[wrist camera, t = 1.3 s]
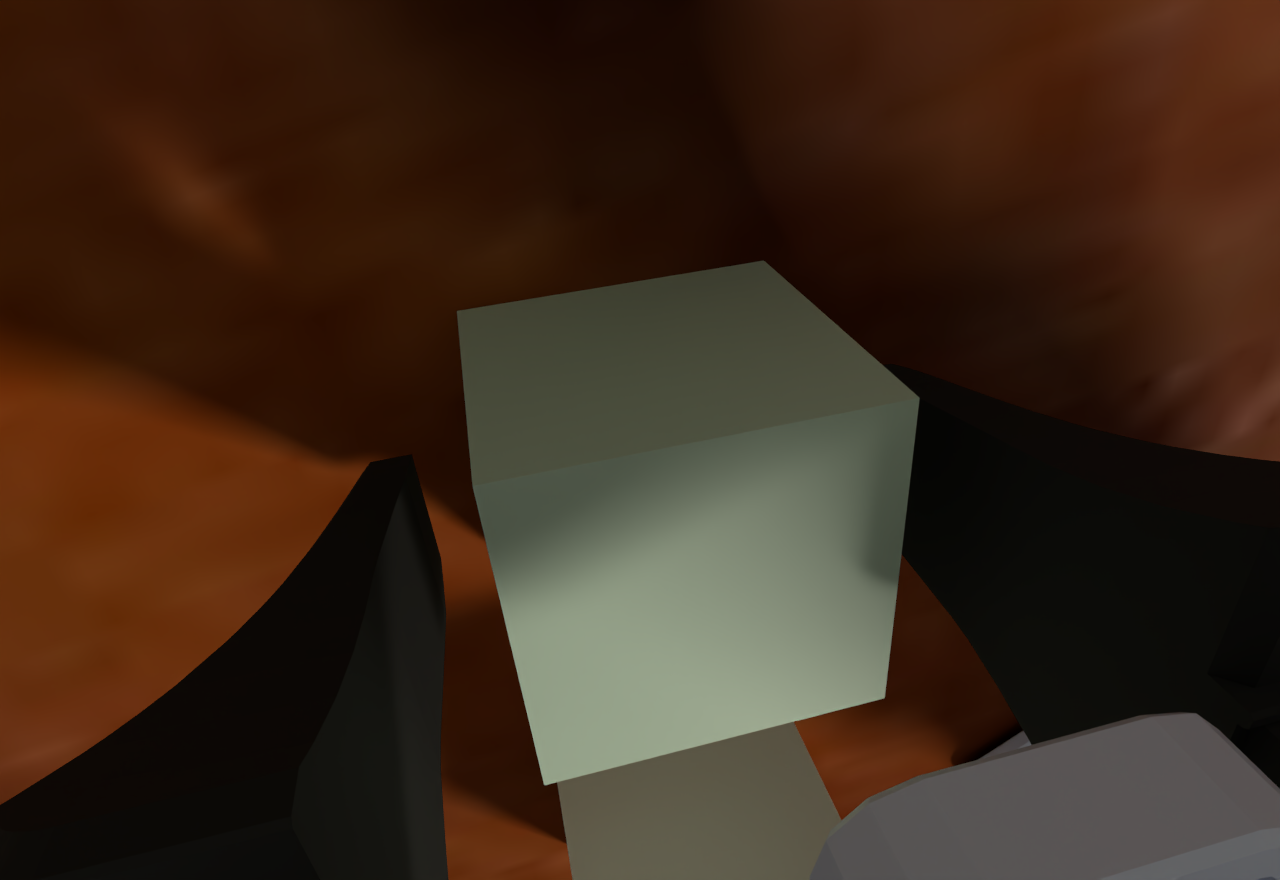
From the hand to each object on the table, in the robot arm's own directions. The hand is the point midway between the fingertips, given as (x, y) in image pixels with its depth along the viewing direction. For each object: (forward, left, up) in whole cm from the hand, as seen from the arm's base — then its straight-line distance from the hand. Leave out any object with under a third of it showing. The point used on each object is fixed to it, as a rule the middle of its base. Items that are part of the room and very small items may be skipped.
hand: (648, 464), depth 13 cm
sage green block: (0, 0, -2) cm, 2 cm away
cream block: (-8, +5, -2) cm, 10 cm away
